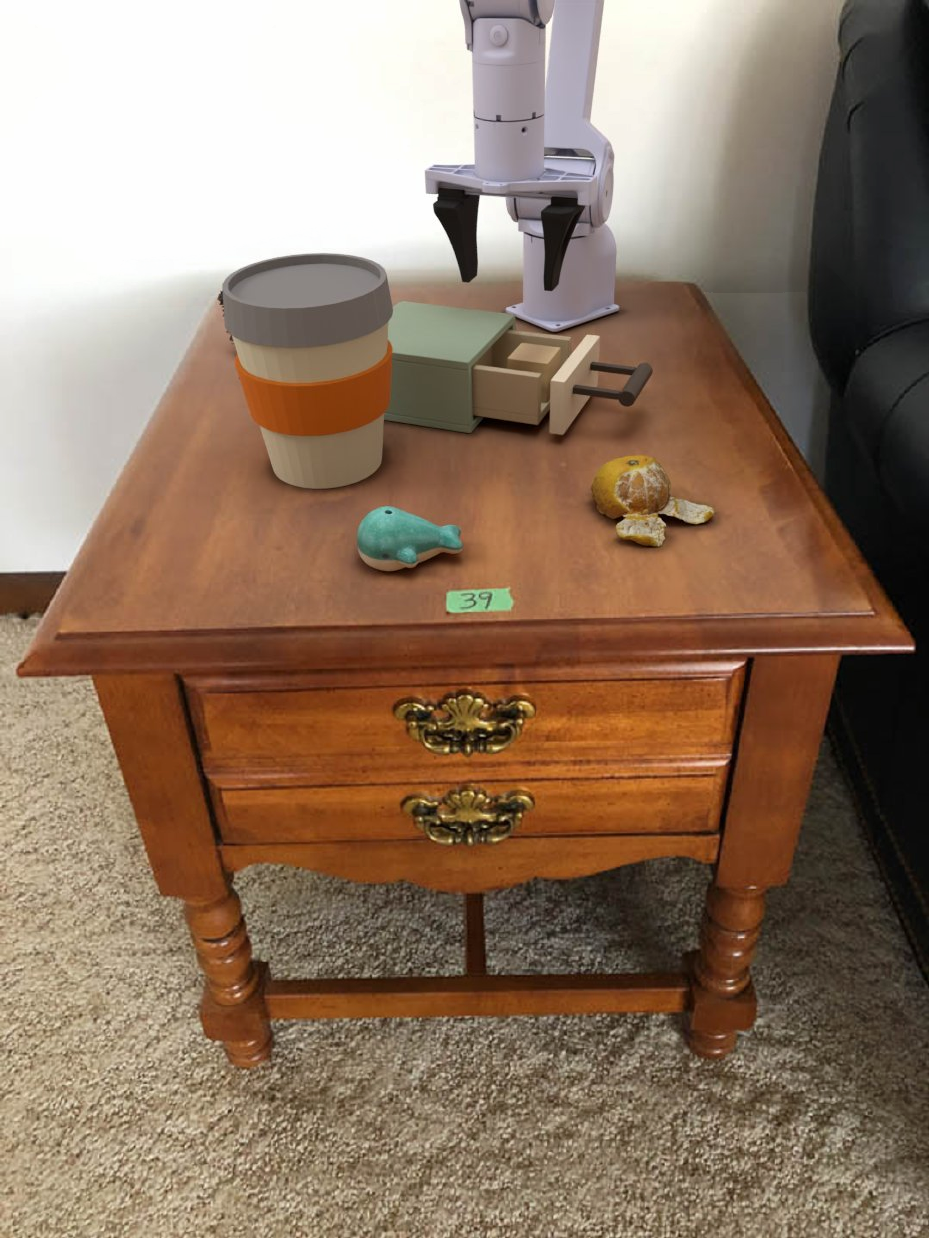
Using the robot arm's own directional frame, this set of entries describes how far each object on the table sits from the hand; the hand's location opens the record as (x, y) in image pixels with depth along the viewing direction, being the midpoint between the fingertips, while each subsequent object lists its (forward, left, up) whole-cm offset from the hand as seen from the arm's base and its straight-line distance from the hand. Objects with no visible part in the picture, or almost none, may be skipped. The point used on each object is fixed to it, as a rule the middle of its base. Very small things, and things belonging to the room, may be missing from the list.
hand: (510, 283), depth 91 cm
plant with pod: (+13, -20, -5) cm, 24 cm away
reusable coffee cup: (+22, +2, -9) cm, 24 cm away
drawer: (+2, +8, -8) cm, 12 cm away
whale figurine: (+25, +18, -9) cm, 32 cm away
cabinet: (+8, -2, -9) cm, 12 cm away
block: (+3, +7, -7) cm, 10 cm away
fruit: (+9, +25, -9) cm, 28 cm away
